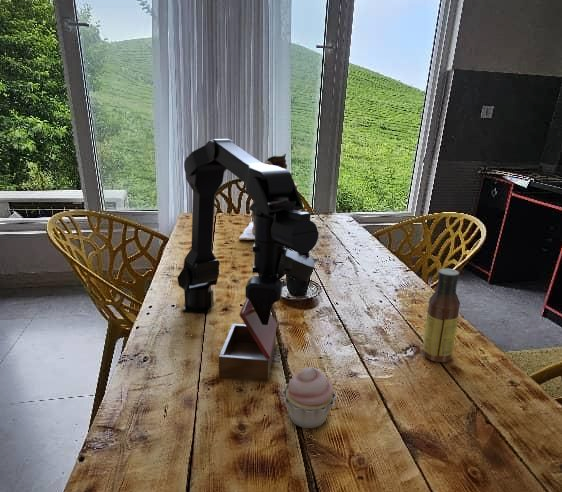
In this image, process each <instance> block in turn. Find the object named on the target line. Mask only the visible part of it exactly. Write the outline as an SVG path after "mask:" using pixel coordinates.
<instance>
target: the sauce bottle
mask: <svg viewBox="0 0 562 492" xmlns="http://www.w3.org/2000/svg"><path fill="white" fill-rule="evenodd" d="M459 279H460V271H458V270H456V269H453V268H449V267H448V268H440V269H438V271H437V285H436V290H435V291H434V293H432V295H431V296H429V300H428V308H427V312H426V318H425V319H426V320H425V326H424V327H425V328H424V336H423V344H422V353H423V355H424V356H425V358H426V359H427V360H430V361H432V362H436V363H447V362H449V361H450V360H451V359H452V355H453V352H454V348H455V343H456V342H455V341H456V335H457V330H458V329H457V328H458V322H459V313H460V312H459V311H460V306H461V302H460V300H459V297H458V294H457V285H458V280H459Z"/></svg>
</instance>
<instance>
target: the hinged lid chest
mask: <svg viewBox="0 0 562 492" xmlns="http://www.w3.org/2000/svg"><path fill="white" fill-rule="evenodd" d="M276 333H277V332H276ZM276 333H275V338H274V342H273V347H272V351H271V356H270V358H268V359H266V357H265V356H264V354H263V352H262V351H261V349H260V348H259V346H258V344H257V343H256V341H255V339H254V338H253V336H252V335H251V333H250V331H249V330H248V328H247V326H246V325H245V323H244V324H241V323H232V324H231V326H230V329H229V331H228V334H227V336H226V338H225V339H224V340H225V341H224V343H223V345H222V347H221V350H220V353H219V355H218V378H222V379H233V380H242V381H243V380H245V381H255V382H266V383H268V382H269V378H270V372H271V369H272V362H273V359H274V353H275V348H276Z"/></svg>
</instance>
